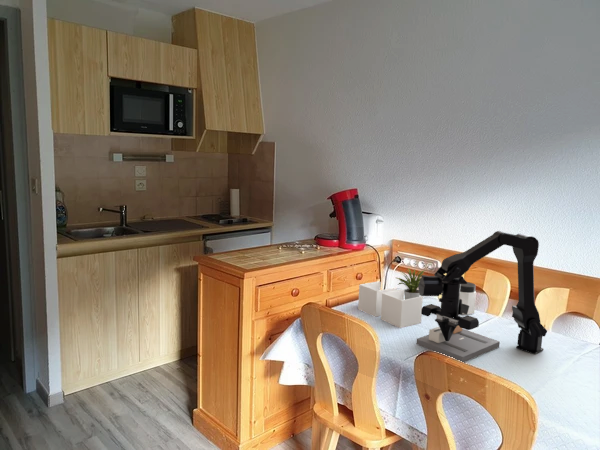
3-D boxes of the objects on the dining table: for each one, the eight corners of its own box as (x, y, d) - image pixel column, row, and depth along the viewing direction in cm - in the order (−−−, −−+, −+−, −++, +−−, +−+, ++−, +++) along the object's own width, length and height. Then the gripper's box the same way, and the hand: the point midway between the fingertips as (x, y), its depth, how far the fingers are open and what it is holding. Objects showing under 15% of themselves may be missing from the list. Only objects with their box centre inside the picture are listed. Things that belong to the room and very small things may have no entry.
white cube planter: (358, 309, 196) (359, 284, 195) (377, 305, 202) (378, 281, 201) (400, 328, 175) (402, 300, 174) (421, 323, 181) (422, 296, 180)
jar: (450, 312, 195) (452, 284, 193) (454, 307, 202) (456, 280, 200) (472, 316, 191) (474, 288, 189) (475, 310, 198) (478, 283, 196)
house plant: (409, 297, 215) (411, 262, 213) (435, 304, 205) (437, 268, 202) (389, 302, 206) (391, 266, 204) (415, 311, 195) (417, 273, 193)
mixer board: (499, 347, 160) (499, 341, 160) (462, 363, 147) (462, 356, 146) (453, 330, 174) (454, 325, 174) (416, 344, 161) (416, 338, 160)
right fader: (462, 330, 168) (462, 321, 168) (454, 333, 165) (454, 323, 165) (452, 327, 171) (453, 317, 171) (444, 330, 168) (445, 320, 168)
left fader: (447, 340, 159) (448, 329, 159) (438, 343, 156) (439, 332, 156) (437, 336, 162) (438, 326, 162) (428, 339, 159) (429, 329, 159)
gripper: (489, 299, 152) (485, 344, 154) (441, 285, 166) (438, 327, 168) (470, 305, 145) (466, 352, 147) (421, 290, 159) (418, 334, 162)
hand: (447, 340), depth 156 cm, fingers closed
